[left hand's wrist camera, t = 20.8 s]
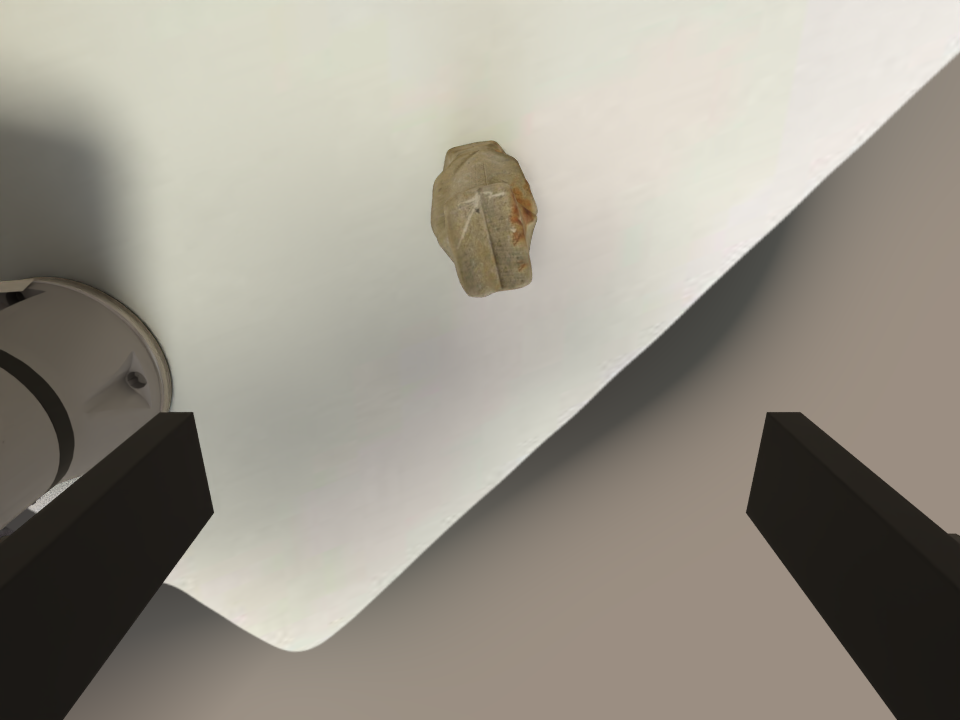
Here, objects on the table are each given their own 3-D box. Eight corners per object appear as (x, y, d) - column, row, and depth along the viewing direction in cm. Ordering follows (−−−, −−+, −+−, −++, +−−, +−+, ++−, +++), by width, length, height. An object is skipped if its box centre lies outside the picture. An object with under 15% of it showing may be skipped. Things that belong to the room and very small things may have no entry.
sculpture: (450, 255, 40) (433, 314, 26) (431, 150, 37) (402, 151, 23) (530, 243, 39) (557, 295, 25) (517, 136, 37) (540, 128, 23)
